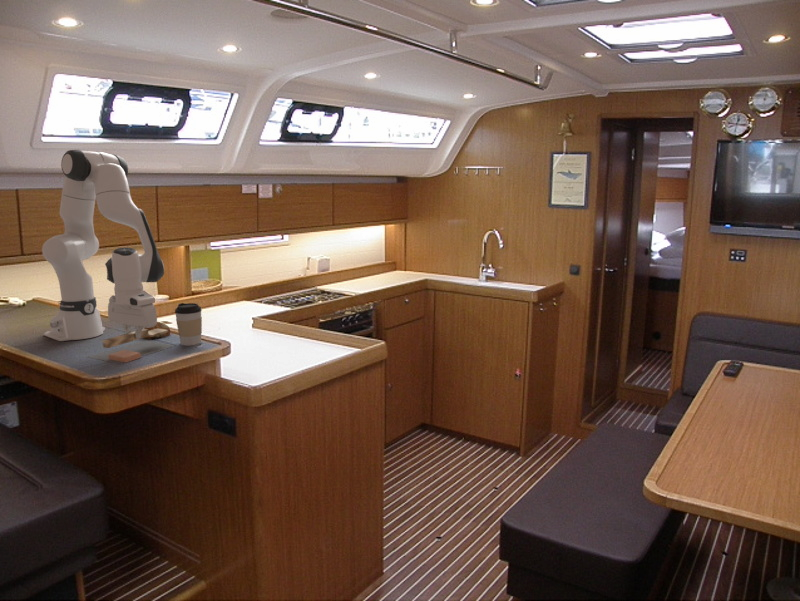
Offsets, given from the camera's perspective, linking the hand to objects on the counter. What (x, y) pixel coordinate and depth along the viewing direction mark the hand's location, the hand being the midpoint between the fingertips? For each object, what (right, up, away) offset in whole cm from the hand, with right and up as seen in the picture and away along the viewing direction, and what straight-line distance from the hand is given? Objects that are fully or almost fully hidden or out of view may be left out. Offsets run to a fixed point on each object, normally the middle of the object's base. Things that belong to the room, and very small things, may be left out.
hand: (134, 337), depth 217 cm
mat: (-1, -6, +3) cm, 6 cm away
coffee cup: (+15, -4, +12) cm, 20 cm away
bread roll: (-1, -2, +23) cm, 23 cm away
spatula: (0, -1, +1) cm, 1 cm away
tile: (-4, -5, -4) cm, 8 cm away
